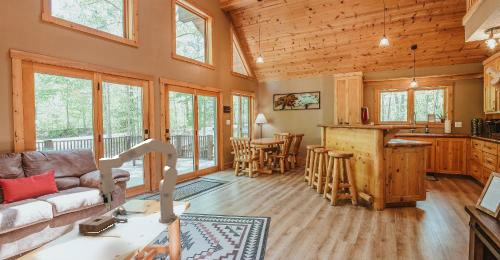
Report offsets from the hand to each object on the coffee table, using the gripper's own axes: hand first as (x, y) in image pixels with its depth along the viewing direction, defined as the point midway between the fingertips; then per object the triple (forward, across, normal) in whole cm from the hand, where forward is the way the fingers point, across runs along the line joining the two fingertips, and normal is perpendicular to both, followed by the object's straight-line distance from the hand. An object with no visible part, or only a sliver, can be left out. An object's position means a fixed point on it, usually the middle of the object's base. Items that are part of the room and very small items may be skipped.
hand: (108, 201), depth 180 cm
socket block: (+21, +3, +15) cm, 26 cm away
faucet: (+22, +28, +10) cm, 38 cm away
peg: (+3, 0, 0) cm, 3 cm away
